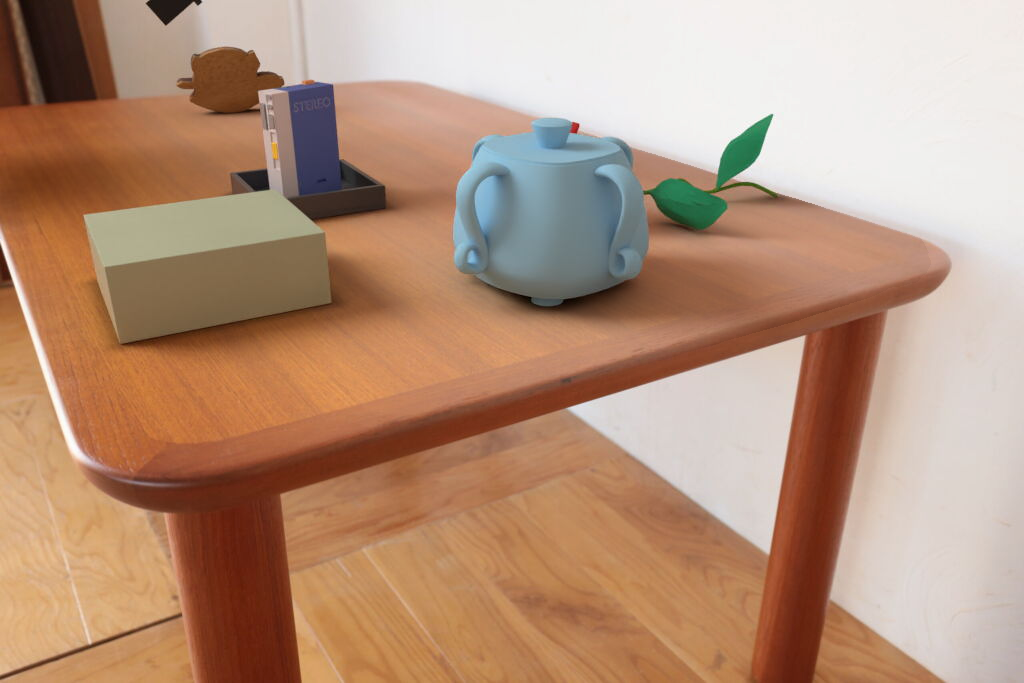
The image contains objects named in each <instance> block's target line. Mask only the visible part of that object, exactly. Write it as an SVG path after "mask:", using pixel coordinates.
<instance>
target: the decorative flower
mask: <svg viewBox="0 0 1024 683" xmlns="http://www.w3.org/2000/svg"><path fill="white" fill-rule="evenodd" d="M773 118H774V113H770V114H769V115H766V116H765V117H763V118H761V119H760V120H758V121H757V122H755V123H753V124H751V125H750V126H749V127H747V129H745V130H743V132H742V133H740V134H739V135H738V136H736V137H735V138H733V139H732V140H730V141H729V143H728V144H727V145H726V147H725V148H724V151H723V152H722V154H721V157H720V159H719V165H718V169H717V176H716V177H717V178H716V182H715V187H714V189H710V190H709V189H708V190H703V189H701V188H699V187H696V186H694V185H693V184H692V183H691V182H690V181H687V180H686V179H685V178H681V177H680V178H672V177H670V178H667V179H664V180H662V181H660V183H658V184H657V185H656V186H655V187H654V188H651V189H646V190H643V194H644V196H646V195H650V197H651V198H652V199H653V201H654V203H655V205H656V208H657V209H658V211H660V213H661V214H663V215H664V216H665V217H666V218H668V219H670V220H671V221H673V222H675V223H677V224H679V225H683V226H686V227H689V228H692V229H694V230H699V231H702V230H706V229H708V228H709V227H710V226H712V225H713V224H715V222H717V221H718V219H719V218H721V217H722V215H723V214H724V213H725V212H726V211H727V210H728V208H729V207H728V206H729V204H728V202H726V200H725V199H723V198H722V197H719V196H717V195H714V194H717V193H721V192H723V191H726V190H730V189H733V188H737V187H753V188H755V189H757V190H760V191H762V192H764V193H766V194H768V195H769V196H771V197H774V198H779V196H778V194H777V193H776V192H774V191H772V190H770V189H768V188H766V187H765V186H763V185H760V184H758V183H755V182H751V181H739V182H734V183H731V184H727V185H725V184H726V183H728V182H729V181H730V180H731V179H733V178H734V177H737V176H738V175H739V174H741V173H743V172H744V171H745V170H747V169H749V168H750V167H751V166H752V165H753V164H754V163H755V162H756V161H757V159H758V158H759V156H760V155H761V153H762V149H763V146H764V144H765V140H766V136H767V133H768V130H769V128H770V126H771V123H772V121H773ZM571 122H572V128H571V131H570V133H575V134H578V131H579V130H580V123H579V122H576V121H571ZM723 185H725V186H723Z"/></svg>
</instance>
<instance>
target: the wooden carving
mask: <svg viewBox="0 0 1024 683" xmlns="http://www.w3.org/2000/svg"><path fill="white" fill-rule="evenodd" d="M260 67H261V62H260V60H259V58H258V56H257V54H256V52H255V50H254V49H250V50H248V51H245V50H243V49H241V48H239V47H233V46H217V47H213V48H209V49H206V50H204V51H202V52H201V53H193V54H192V55H191V58H190V68H191V71H192V73H193V74H192V77H180V78H178V79H177V80H176V84H175V86H176V87H177V88H179V89H181V90H193V91H192V92H191V93H190V94H189V99H188V100H189V102H190V103H192V104H194V105H195V106H198V107H201V108H204V109H206V110H210V111H213V112H216V113H226V114H231V113H233V114H234V113H240V112H244V111H246V110H250V109H251V108H253V107H255V106H257V105H260V103H259V94H258V91H261V90H268V89H274V88H280V87H285V79H284V78H283V76H282V75H278V73H276V72H274V71H268V70H267V71H259V69H260Z"/></svg>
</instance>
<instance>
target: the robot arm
mask: <svg viewBox="0 0 1024 683" xmlns="http://www.w3.org/2000/svg"><path fill="white" fill-rule="evenodd" d="M193 3H194V4H195V5H196V6H197V7H199V6H200V5H201V4H202V3H203V1H202V0H148V1H146V2H145V5H146V6H147V7H148V8H149V9H150V11H151V12H152V13H153V14H154V15H155V16H156V17H157V18H158V19H159V20H160V22H162V24H163V25H164V26H165V27H166V26H168V25H169V24H170V23H172V22H173V20H175V19H176V18H177V17H179V15H181V14H182V13H183V12H184V11H185V10H186V9H187V8H188V7H190V6H191V5H192V4H193Z"/></svg>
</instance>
